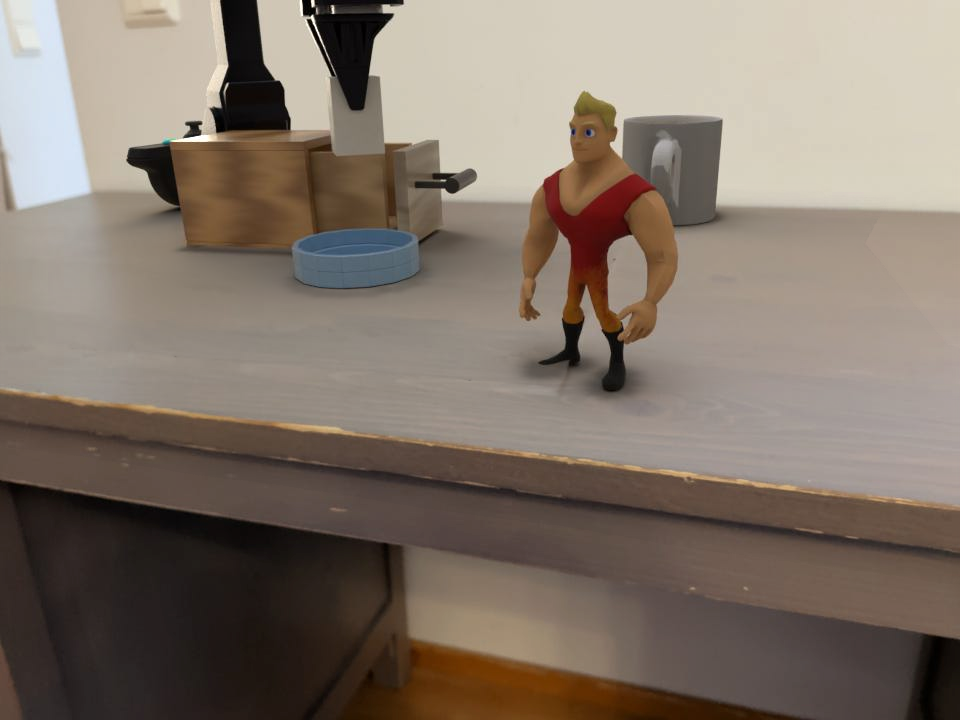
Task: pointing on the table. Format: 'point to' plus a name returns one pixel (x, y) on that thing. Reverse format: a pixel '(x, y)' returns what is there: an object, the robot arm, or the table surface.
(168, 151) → the controller
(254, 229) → the cabinet
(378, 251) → the bowl
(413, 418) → the table surface
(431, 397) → the table surface
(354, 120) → the block
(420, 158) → the drawer
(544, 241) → the action figure
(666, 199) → the coffee mug
